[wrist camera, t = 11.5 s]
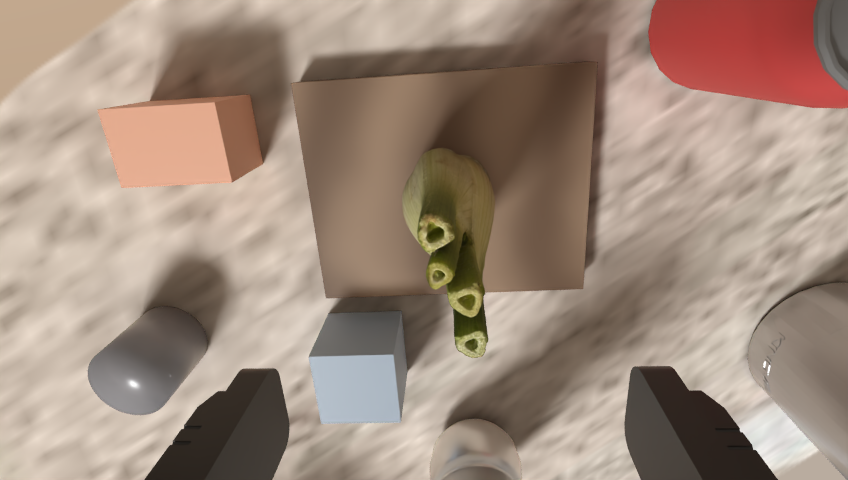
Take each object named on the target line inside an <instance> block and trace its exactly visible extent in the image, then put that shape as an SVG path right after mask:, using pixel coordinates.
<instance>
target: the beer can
mask: <svg viewBox="0 0 848 480" xmlns="http://www.w3.org/2000/svg"><path fill="white" fill-rule="evenodd" d="M648 33H649V41H650V49H651V54H652V56H653V58H654V60H655V62H656V64H657V66H658V68H659V70H660V71H662V72H663V73H664V74H665V75H666V76H667V77H668V78H669V79H670V80H671V81H673V82H674V83H677V84H680V85H682V86H685V87H687V88H690V89H695V90H702V91H708V92H715V93H721V94H728V95H734V96H741V97H747V98H753V99H760V100H766V101H773V102H779V103H786V104H792V105H799V106H805V107H812V108H848V0H657V1H656V3H655V5H654V7H653V9H652V14H651V20H650V25H649V31H648Z"/></svg>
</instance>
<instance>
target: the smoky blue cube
mask: <svg viewBox="0 0 848 480" xmlns="http://www.w3.org/2000/svg"><path fill="white" fill-rule="evenodd" d="M309 361H310V366H311V372H312V377H313V382H314V387H315V393H316V398H317V403H318V409H319V414H320V419H321V424H330V423H394V422H401V417H402V409H403V402H404V394H405V387H406V379H407V363H406V352H405V342H404V331H403V321H402V311H383V312H353V313H329V314H328V316H327V318H326V320H325V322H324V325H323V327H322V329H321V331H320V333H319V336H318V338H317V340H316V342H315V344H314V346H313V349H312V351H311V353H310V355H309Z"/></svg>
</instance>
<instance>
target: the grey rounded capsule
mask: <svg viewBox="0 0 848 480" xmlns="http://www.w3.org/2000/svg"><path fill="white" fill-rule="evenodd" d="M207 346H208V340H207V336H206V333H205V331H204V329H203V327H202V326H201V324H200V323H199V322H198V321H197V320H196V319H195V318H194V317H193V316H192V315H190V314H189V313H187V312H185V311H183V310H181V309H178V308H174V307H168V306H162V307H156V308H153V309H150V310H149V311H147V312H146V313H145V314H143V315H142V316H141V317H140V318H139V319H138V320H136V321H135V322H134V323H133V324H132V325H131V326H129V327H128V328H127V329H126V330H125V331H124V332H122V333H121V334H120V335H119V336H118V337H117V338H115V339H114V340H113V341H112V342H111V343H110V344H108V345H107V346H106V347H105V348H104V349H103V350H101V351H100V352H99V353H98V354H97V355H96V356H95V357H94V358H93V359H92V360H91V362H90V364H89V367H88V379H89V382H90V385H91V387H92V389H93V390H94V392H95V393H96V394H97V396H98V397H99V398H100V399H101V400H102V401H104V402H105V403H106V404H107V405H109V406H110V407H112V408H114V409H116V410H118V411H121V412H124V413H127V414H132V415H146V414H151V413H154V412H156V411H158V410H159V409H161V408H162V407H163V406H164V405H165V403H166V402H167V401H168V400H169V399H170V397H171V396H172V395H173V394H174V392H175V391H176V390H177V389H178V387H179V386H180V385H181V384H182V382H183V381H184V380H185V379H186V377H187V376H188V375H189V374H190V372H191V371H192V370H193V369H194V367H195V366H196V365H197V364H198V363H199V361H200V360H201V359H202V358H203V356H204V355H205V353H206V350H207Z"/></svg>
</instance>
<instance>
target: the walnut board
mask: <svg viewBox="0 0 848 480" xmlns="http://www.w3.org/2000/svg"><path fill="white" fill-rule="evenodd" d="M597 64H598V62H590V61H589V62H575V63H561V64H546V65H532V66H518V67H503V68H489V69H475V70H460V71H446V72H432V73H418V74H403V75H389V76H375V77H360V78H346V79H332V80H317V81H303V82H296V83H291V86H292V92H293V98H294V104H295V111H296V117H297V123H298V129H299V135H300V141H301V147H302V153H303V160H304V166H305V172H306V178H307V184H308V190H309V196H310V202H311V209H312V215H313V221H314V227H315V233H316V239H317V245H318V251H319V257H320V264H321V270H322V276H323V282H324V288H325V294H326V298H347V297H374V296H401V295H429V294H447V289H446V284H445V285H443V286H441V287H440V288H438V289H436V290H435V289H433V288H431V287H430V286H429V284H428V281H427V278H426V269H427V265H428V262H429V259H430V256H431V255H430V254H428V253H427V252H426V251H425V250H424V249H423V248H422V247H421V245H420V244H419V242H418V241H417V240H416V238H415V237H414V236H413V234H412V233H411V231H410V229H409V227H408V225H407V224H406V222H405V219H404V216H403V211H402V194H403V190H404V187H405V184H406V182H407V180H408V179H409V177H410V176H411V174H412V173H413V171H414V169H415V167H416V164H417V162H418V161H419V159H420V157H421V156H422V155H423V154H424V153H425V152H426V151H430V150H432V149H436V148H446V149H450V150H452V151H454V152H455V153H456V154H458V155H468V156H471V157H473V158H475V159H476V160H478V161H479V162H480V163H481V164H482V165H483V167H484V168H485V170H486V171H487V173H488V175H489V177H490V182H491V185H492V189H493V192H494V197H495V211H494V219H493V225H492V230H491V235H490V239H489V244H488V248H487V252H486V257H485V266H484V270H483V285H484V288H485V292H511V291H538V290H565V289H583V283H584V268H585V252H586V236H587V221H588V205H589V189H590V174H591V158H592V142H593V127H594V111H595V95H596V79H597Z"/></svg>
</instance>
